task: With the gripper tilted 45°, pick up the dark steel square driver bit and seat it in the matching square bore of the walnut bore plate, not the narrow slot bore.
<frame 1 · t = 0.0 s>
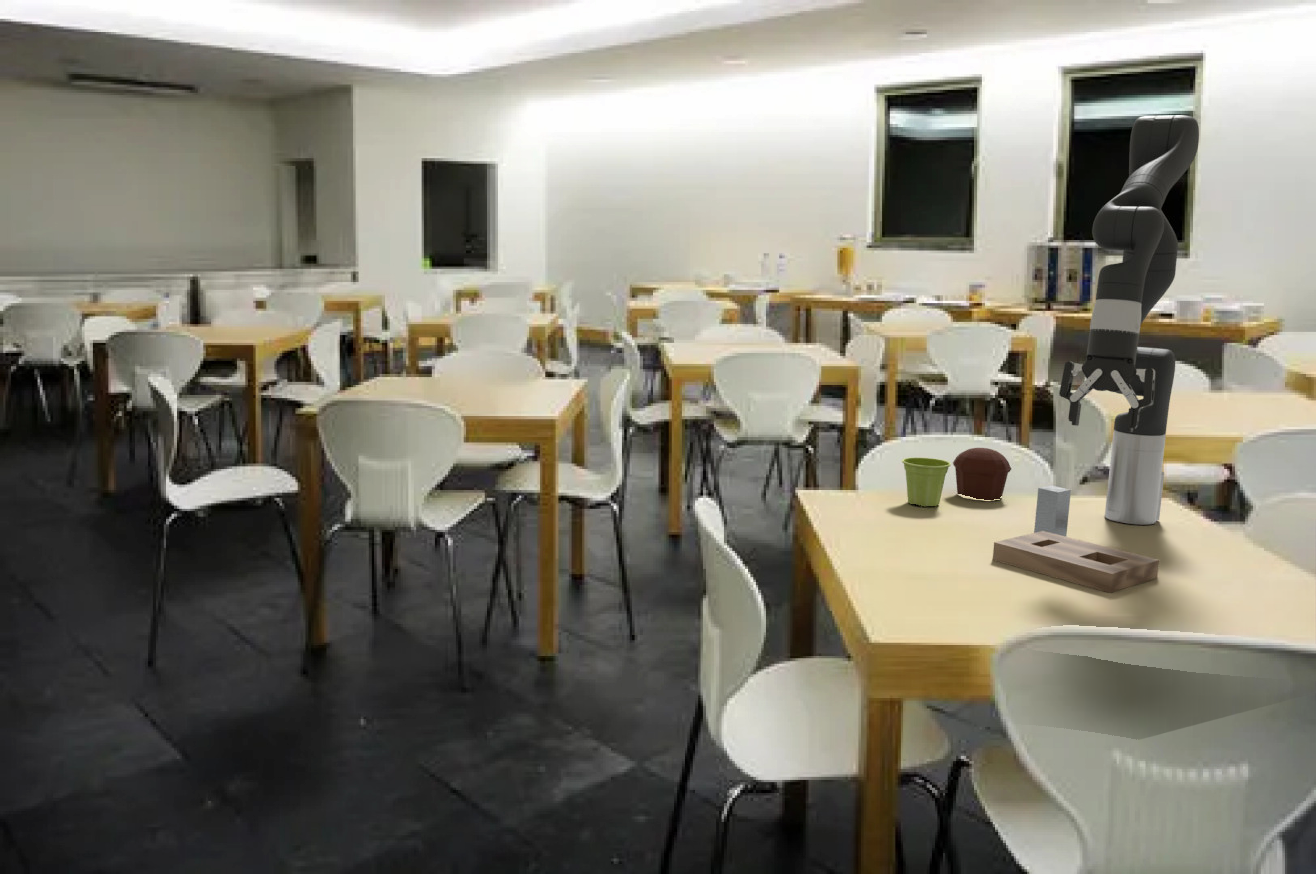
hand: (1101, 428, 187), 22 cm above the table, tool pointing down, fingers open, 8 cm apart
muffin: (979, 497, 237), on the table
square bit: (1049, 537, 205), on the table
plant pot: (923, 505, 228), on the table
bore plate: (1073, 568, 186), on the table
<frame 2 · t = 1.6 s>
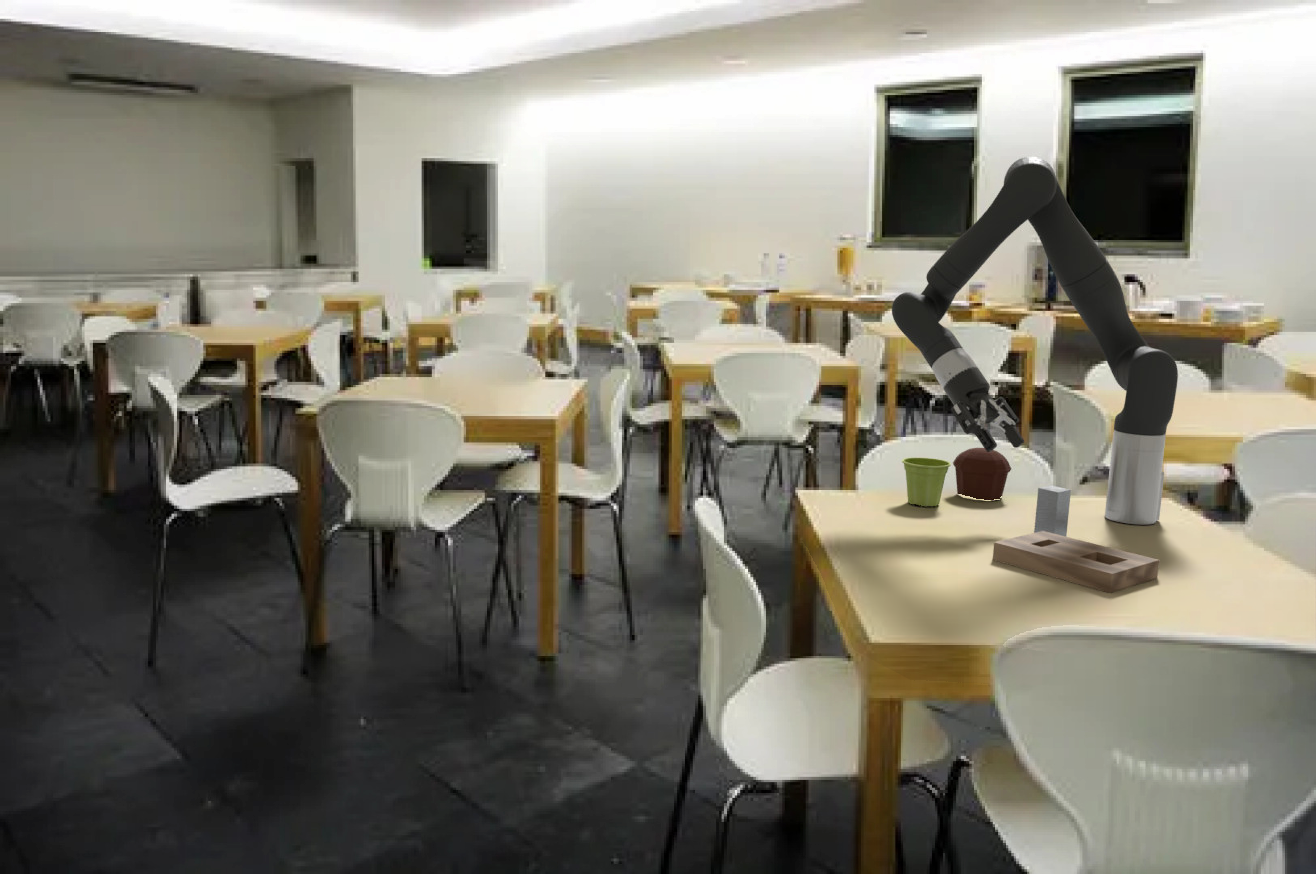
hand: (1006, 447, 211), 15 cm above the table, tool tilted 45°, fingers open, 8 cm apart
nothing on the table moved.
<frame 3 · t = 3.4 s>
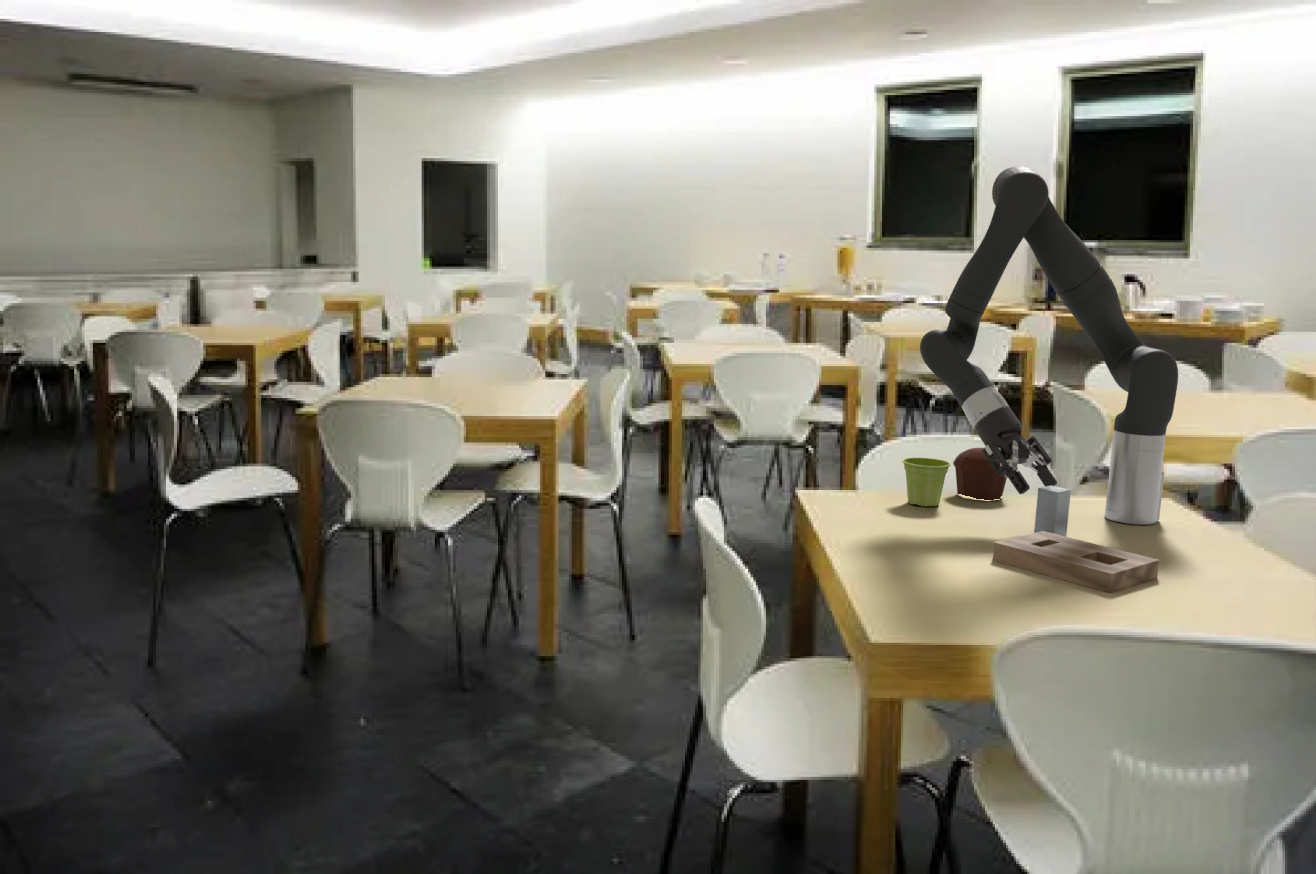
hand: (1039, 489, 206), 8 cm above the table, tool tilted 45°, fingers open, 8 cm apart
nothing on the table moved.
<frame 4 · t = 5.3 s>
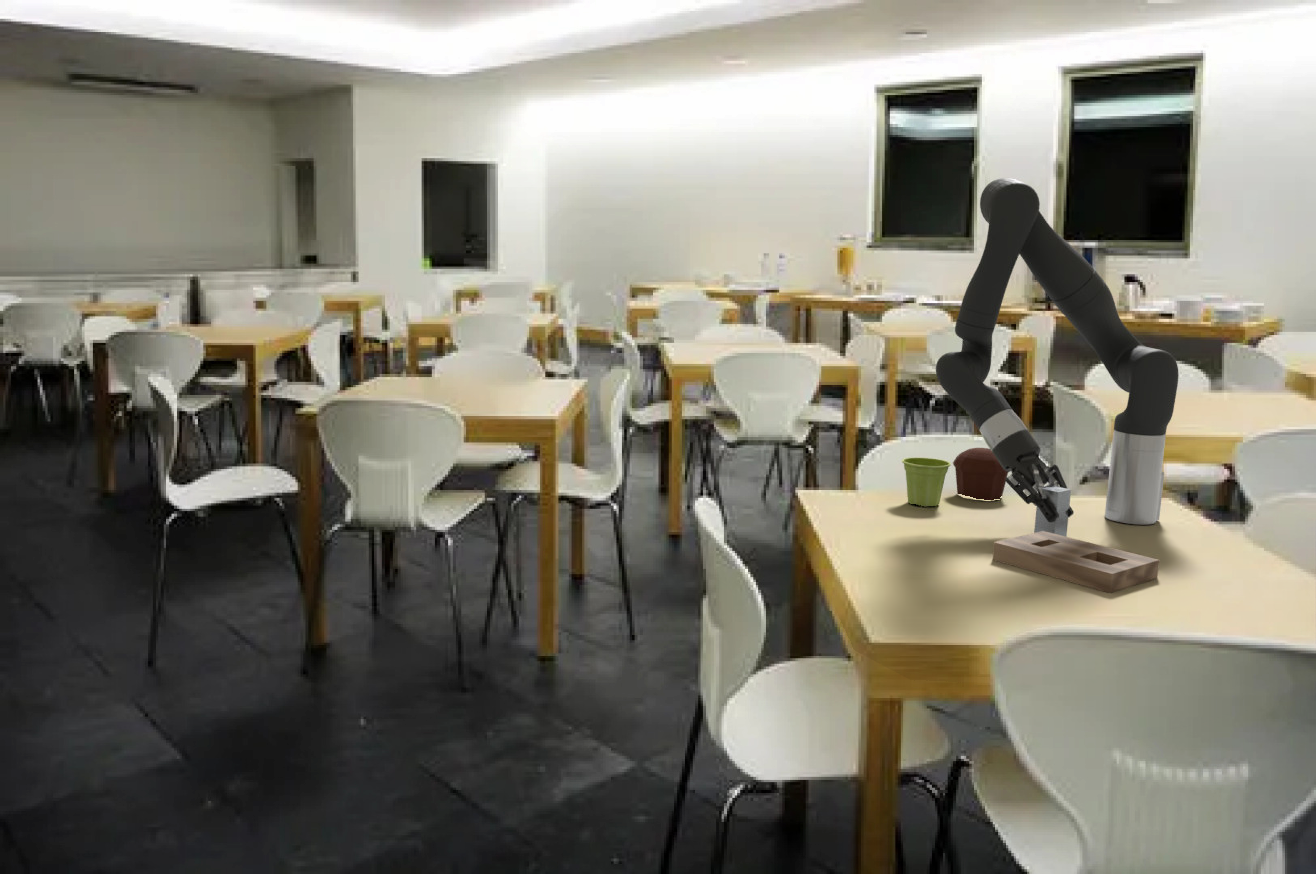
hand: (1061, 517, 203), 4 cm above the table, tool tilted 45°, fingers closed on square bit, 4 cm apart
square bit: (1049, 537, 205), on the table, touching gripper
everything else where it was.
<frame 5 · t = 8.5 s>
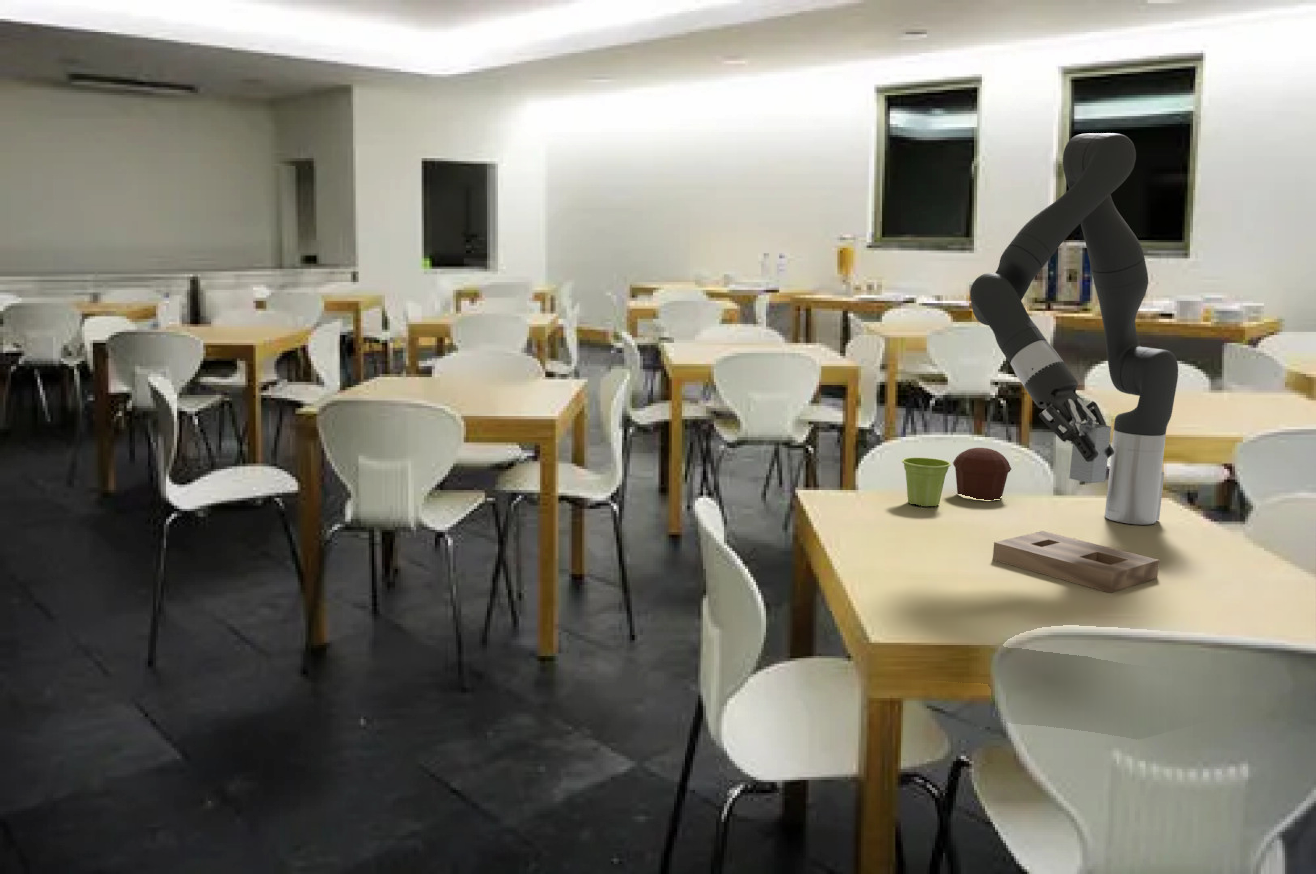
hand: (1101, 457, 185), 18 cm above the table, tool tilted 45°, fingers closed on square bit, 4 cm apart
square bit: (1087, 479, 187), point 14 cm above the table, touching gripper
everything else where it was.
when the fingers open (5 cm above the table, at t = 11.9 s): square bit drops 1 cm, resting in bore plate.
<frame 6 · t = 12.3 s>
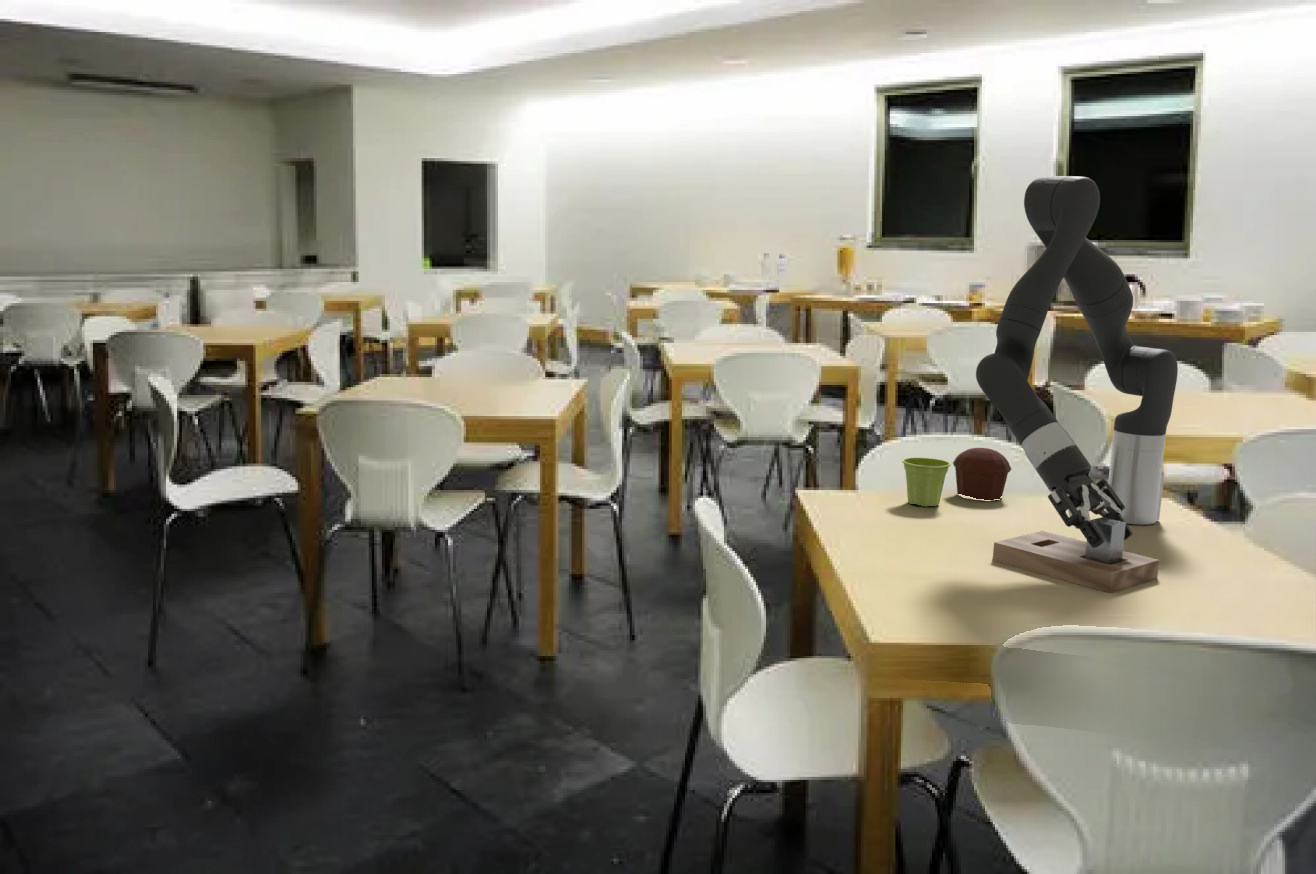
hand: (1113, 541, 180), 6 cm above the table, tool tilted 45°, fingers open, 8 cm apart
square bit: (1101, 576, 182), resting in bore plate
everything else where it was.
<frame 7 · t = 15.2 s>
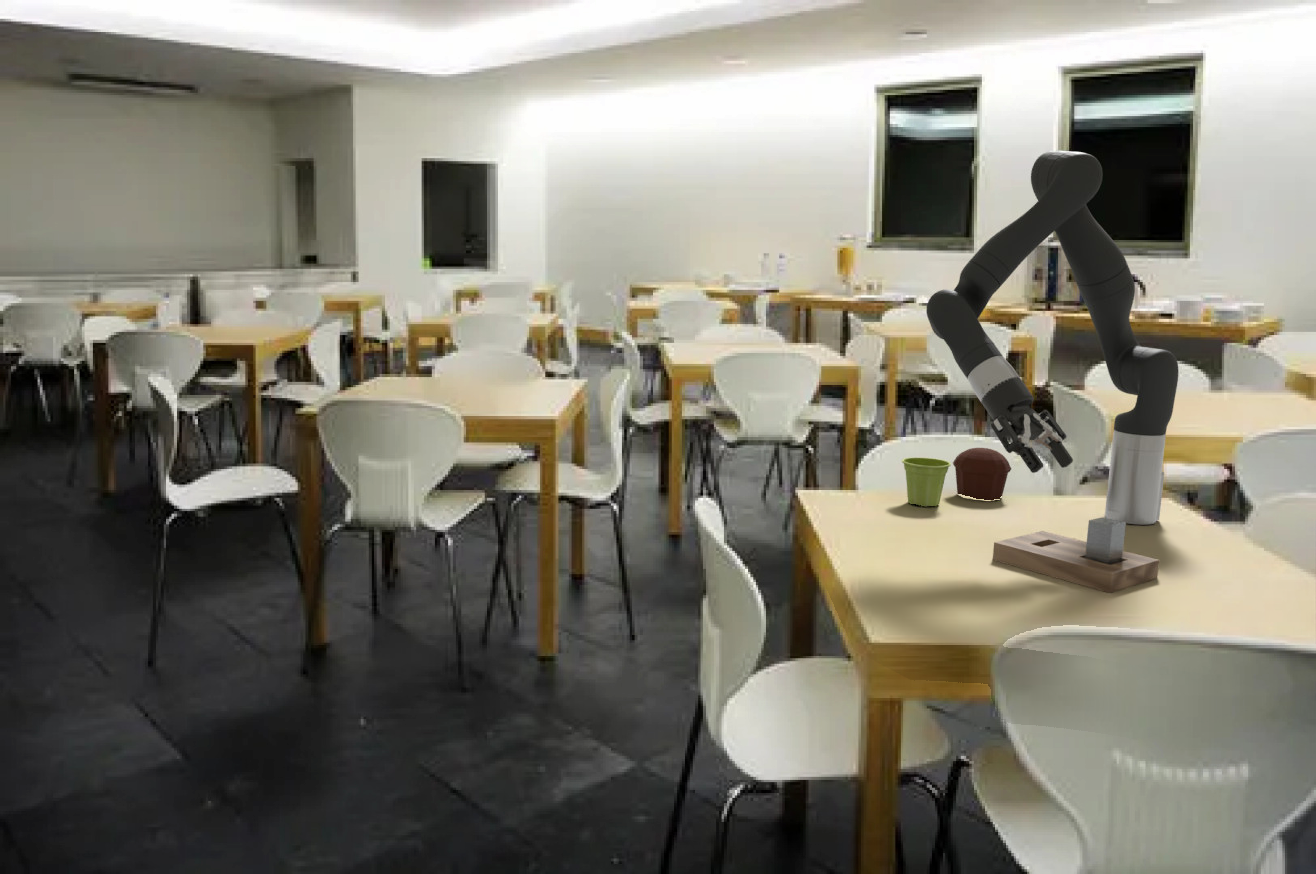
hand: (1053, 467, 187), 16 cm above the table, tool tilted 45°, fingers open, 8 cm apart
nothing on the table moved.
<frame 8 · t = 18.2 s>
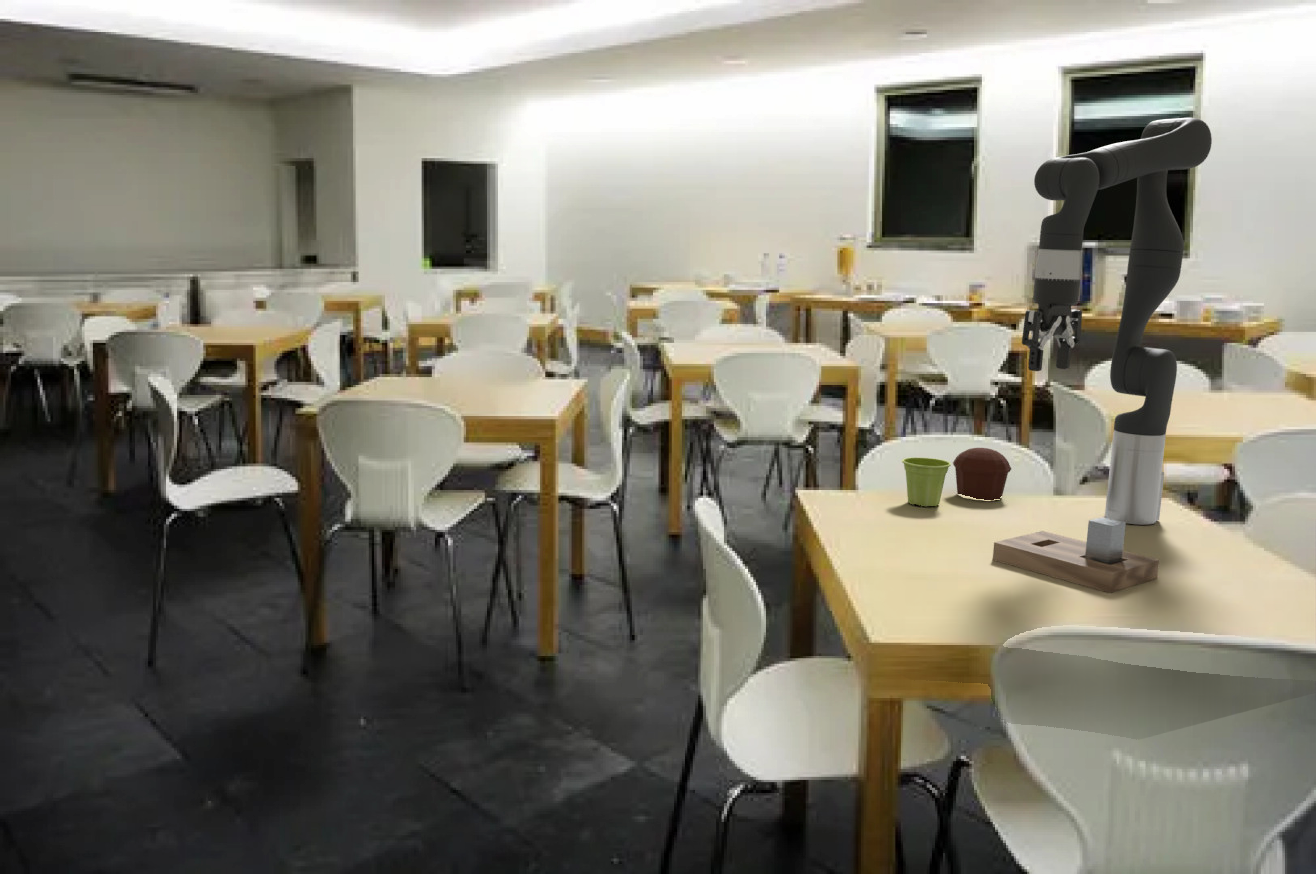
hand: (1048, 369, 201), 30 cm above the table, tool pointing down, fingers open, 8 cm apart
nothing on the table moved.
at the end: square bit 0.2 cm from the target spot on the bore plate, point 0.0 cm above the bore plate's base; square bit tilted 0°; the gripper is holding nothing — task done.
